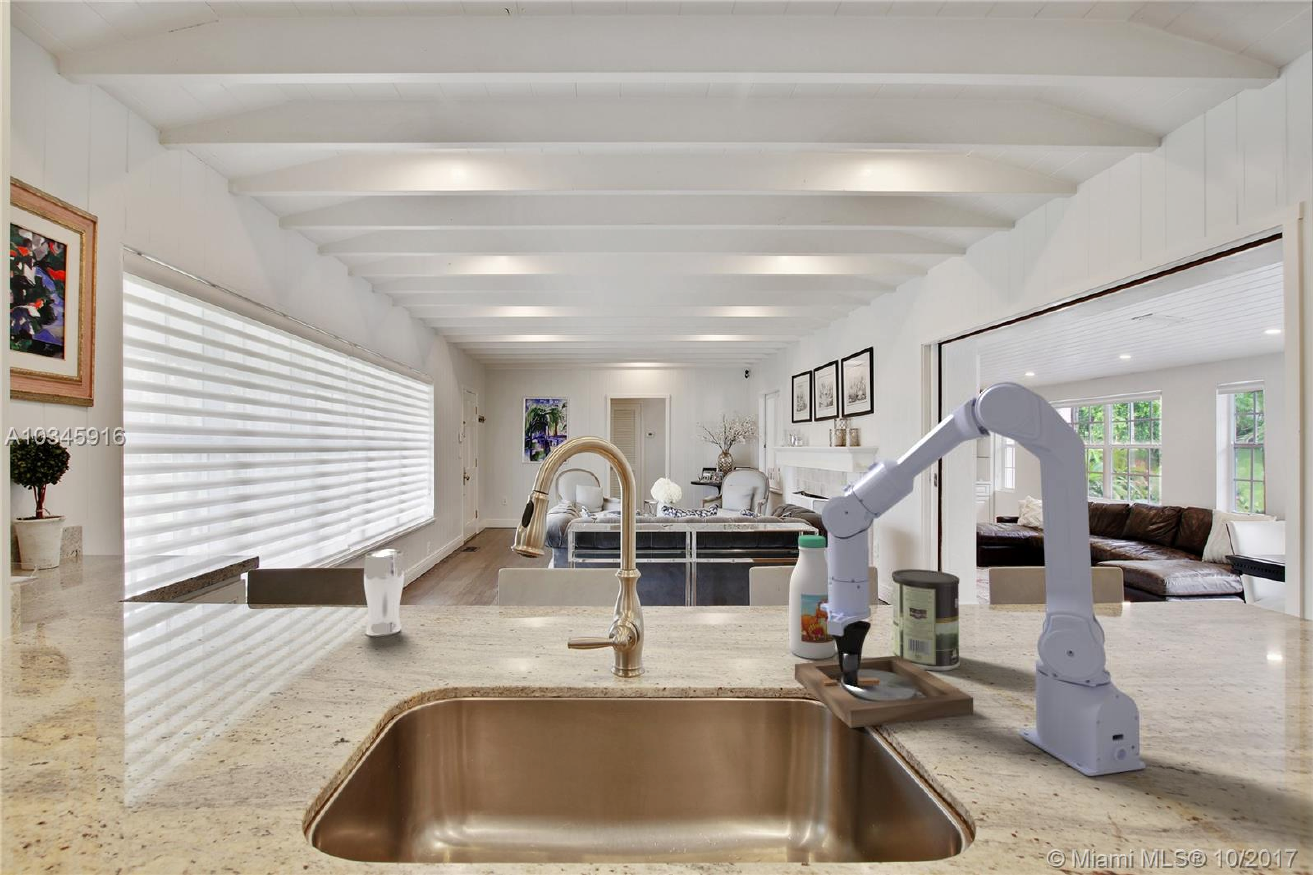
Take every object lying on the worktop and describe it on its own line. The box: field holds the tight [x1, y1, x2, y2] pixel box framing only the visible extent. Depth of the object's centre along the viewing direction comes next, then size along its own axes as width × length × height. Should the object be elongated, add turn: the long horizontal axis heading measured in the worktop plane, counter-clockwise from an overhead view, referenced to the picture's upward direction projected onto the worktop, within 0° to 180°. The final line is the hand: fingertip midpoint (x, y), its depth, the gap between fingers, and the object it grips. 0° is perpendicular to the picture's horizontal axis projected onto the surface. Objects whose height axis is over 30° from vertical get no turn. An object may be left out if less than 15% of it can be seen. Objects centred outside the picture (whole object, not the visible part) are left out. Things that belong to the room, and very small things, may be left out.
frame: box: [794, 655, 974, 729], centre depth 84 cm, size 16×18×3 cm
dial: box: [840, 651, 917, 703], centre depth 84 cm, size 10×10×6 cm
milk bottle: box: [788, 534, 836, 660], centre depth 101 cm, size 8×8×20 cm
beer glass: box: [363, 549, 405, 637], centre depth 112 cm, size 7×7×15 cm
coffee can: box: [891, 568, 961, 672], centre depth 98 cm, size 10×10×14 cm
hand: (849, 671), depth 85 cm, fingers closed, pressing on dial
